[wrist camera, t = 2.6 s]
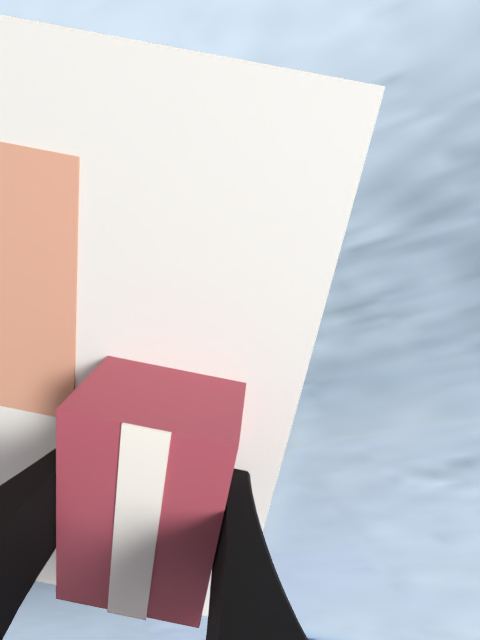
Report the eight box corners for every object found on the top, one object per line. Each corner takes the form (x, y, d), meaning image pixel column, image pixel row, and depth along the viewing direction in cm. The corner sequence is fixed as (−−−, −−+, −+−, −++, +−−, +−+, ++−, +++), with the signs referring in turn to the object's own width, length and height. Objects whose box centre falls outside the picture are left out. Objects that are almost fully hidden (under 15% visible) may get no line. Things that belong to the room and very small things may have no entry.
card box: (213, 539, 14) (198, 631, 11) (98, 516, 14) (54, 601, 11) (246, 383, 12) (238, 448, 9) (107, 355, 12) (54, 410, 9)
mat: (238, 607, 16) (237, 624, 15) (-113, 535, 16) (-128, 549, 16) (378, 93, 9) (386, 86, 9) (-239, -23, 9) (-276, -39, 9)
